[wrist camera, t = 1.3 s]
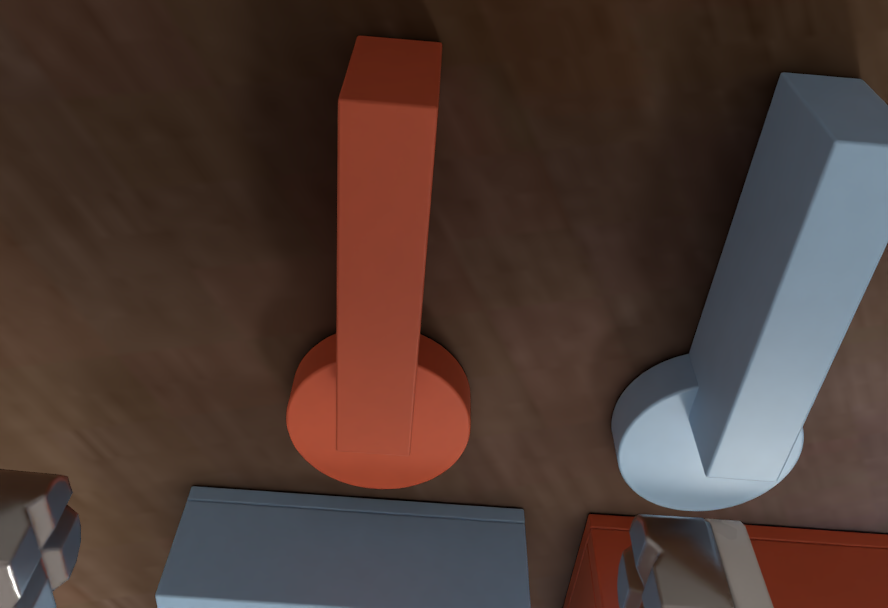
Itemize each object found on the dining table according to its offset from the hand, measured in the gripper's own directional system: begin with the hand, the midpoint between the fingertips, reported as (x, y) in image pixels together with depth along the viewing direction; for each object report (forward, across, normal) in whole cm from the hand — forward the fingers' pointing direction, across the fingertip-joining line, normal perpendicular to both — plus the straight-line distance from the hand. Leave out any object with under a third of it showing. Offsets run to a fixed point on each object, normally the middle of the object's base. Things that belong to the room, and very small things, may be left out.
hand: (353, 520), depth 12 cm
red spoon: (+8, 0, +1) cm, 8 cm away
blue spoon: (+8, -8, +1) cm, 11 cm away
